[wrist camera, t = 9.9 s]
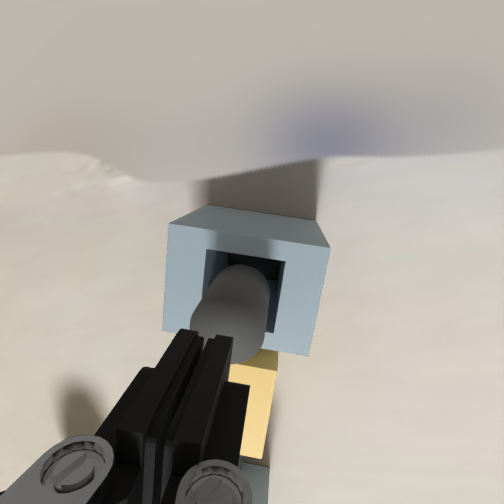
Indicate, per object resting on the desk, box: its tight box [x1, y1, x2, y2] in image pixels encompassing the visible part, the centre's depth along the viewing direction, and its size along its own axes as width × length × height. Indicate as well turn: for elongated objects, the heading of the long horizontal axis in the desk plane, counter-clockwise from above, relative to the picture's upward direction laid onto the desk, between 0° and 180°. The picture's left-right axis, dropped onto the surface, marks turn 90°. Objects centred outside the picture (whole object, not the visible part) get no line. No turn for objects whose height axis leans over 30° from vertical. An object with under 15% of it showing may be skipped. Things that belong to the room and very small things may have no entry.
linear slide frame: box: [162, 205, 331, 504], centre depth 23 cm, size 8×29×9 cm, turn 172°
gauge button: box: [189, 264, 270, 364], centre depth 14 cm, size 3×3×4 cm
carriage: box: [228, 348, 278, 459], centre depth 22 cm, size 5×6×8 cm
